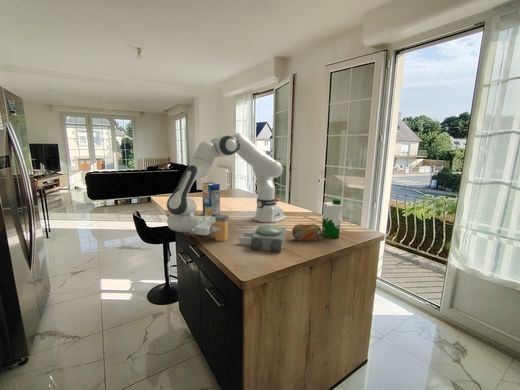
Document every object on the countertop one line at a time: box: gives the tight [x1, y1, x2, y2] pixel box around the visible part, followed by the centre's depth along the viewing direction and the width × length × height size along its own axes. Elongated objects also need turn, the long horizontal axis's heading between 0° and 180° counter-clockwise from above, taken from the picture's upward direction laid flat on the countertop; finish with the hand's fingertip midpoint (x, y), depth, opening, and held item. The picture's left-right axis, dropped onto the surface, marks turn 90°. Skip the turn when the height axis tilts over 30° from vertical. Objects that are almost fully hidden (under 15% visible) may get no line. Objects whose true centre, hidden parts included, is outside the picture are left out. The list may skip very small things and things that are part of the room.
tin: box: [291, 223, 322, 242], centre depth 135 cm, size 15×3×8 cm, turn 95°
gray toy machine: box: [238, 224, 287, 253], centre depth 129 cm, size 21×20×8 cm
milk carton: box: [321, 198, 343, 238], centre depth 141 cm, size 9×9×20 cm
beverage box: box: [201, 181, 221, 217], centre depth 175 cm, size 7×11×22 cm, turn 41°
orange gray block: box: [214, 214, 229, 242], centre depth 132 cm, size 5×5×12 cm
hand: (223, 226), depth 132 cm, fingers closed on orange gray block, 5 cm apart
